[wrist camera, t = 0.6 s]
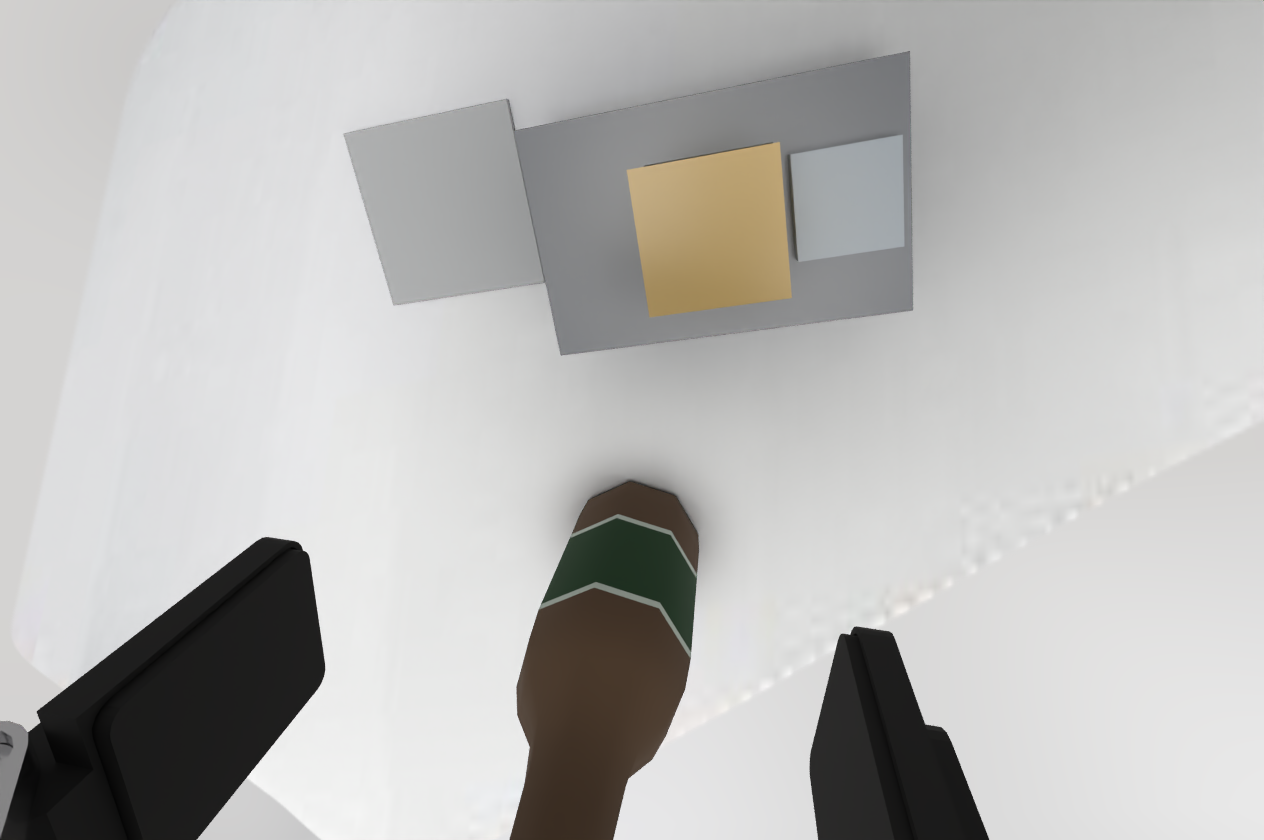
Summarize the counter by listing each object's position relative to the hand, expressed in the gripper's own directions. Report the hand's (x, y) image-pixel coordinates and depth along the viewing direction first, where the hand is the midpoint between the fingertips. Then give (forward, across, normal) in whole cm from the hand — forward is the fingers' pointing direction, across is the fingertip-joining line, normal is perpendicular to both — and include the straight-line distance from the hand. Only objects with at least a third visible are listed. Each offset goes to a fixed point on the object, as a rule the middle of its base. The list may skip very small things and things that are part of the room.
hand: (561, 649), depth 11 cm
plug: (+25, -1, -6) cm, 26 cm away
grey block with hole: (+25, -1, -6) cm, 26 cm away
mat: (+25, +13, -5) cm, 29 cm away
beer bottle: (+25, +1, +13) cm, 29 cm away
